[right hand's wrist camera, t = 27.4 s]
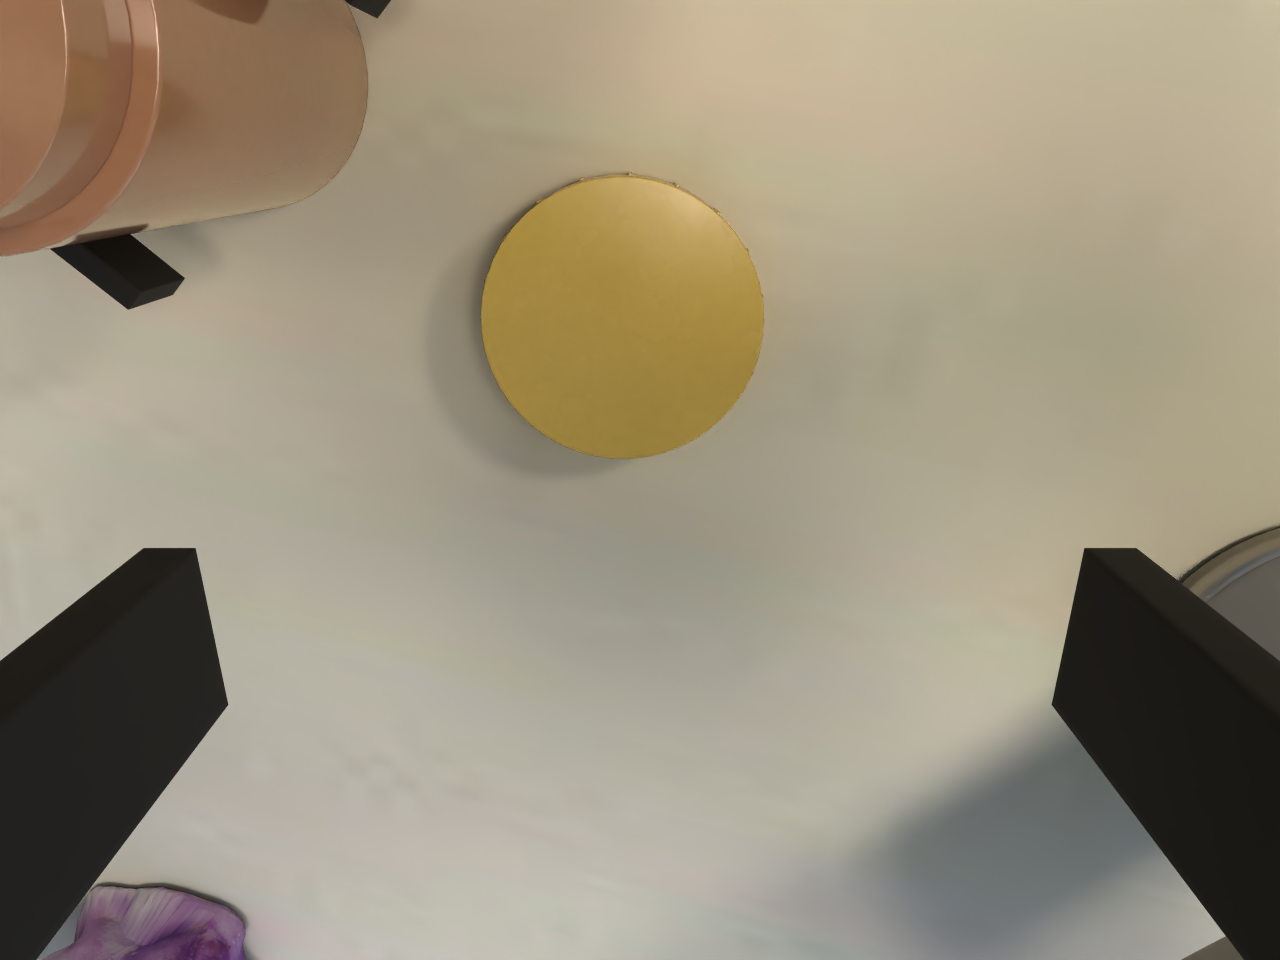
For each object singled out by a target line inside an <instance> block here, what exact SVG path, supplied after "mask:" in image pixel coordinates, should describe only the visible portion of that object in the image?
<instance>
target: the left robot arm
mask: <svg viewBox="0 0 1280 960" xmlns="http://www.w3.org/2000/svg"><path fill="white" fill-rule="evenodd" d="M345 1H346V2H348V3H349V4H350V5H352V6H354V7H356V8H358V9H360V10H362V11H364V12H366V13H368V14H370V15H372V16H374V17H376V18H378V17H379V15H380V14H381V13H382V11H383V10H384V9H385V7H386V6H387V5H388V3H389V2H390V1H391V0H345ZM50 249H51V250H52V251H54V252H55V253H56V254H57V255H59V256H60V257H61V258H63V259H64V260H65V261H66V262H68V263H69V264H70V265H72V266H73V267H74V268H75V269H77V270H78V271H79V272H81V273H82V274H83V275H84V276H86V277H87V278H88V279H89V280H91V281H92V282H93V283H95V284H96V285H97V286H98V287H100V288H101V289H102V290H104V291H105V292H106V293H107V294H109V295H110V296H111V297H113V298H114V299H115V300H116V301H118V302H119V303H120V304H122V305H123V306H124V307H125V308H127V309H128V310H129V309H132V308H135V307H138V306H141V305H144V304H147V303H150V302H153V301H156V300H159V299H162V298H165V297H168V296H171V295H173V294H174V292H175V291H176V290H177V288H178V287H179V286H180V284H181V283H182V282H183V280H184V279H185V278H184V277H183V276H181V275H180V274H179V273H178V272H176V271H175V270H174V269H173V268H171V267H170V266H169V265H168V264H166V263H165V262H164V261H163V260H162V259H160V258H159V257H158V256H157V255H155V254H154V253H153V252H152V251H150V250H149V249H148V248H147V247H145V246H144V245H143V244H142V243H140V242H139V241H138V240H137V239H135V238H134V237H133V236H132V235H130V234H127V235H122V236H116V237H111V238H105V239H100V240H94V241H88V242H83V243H77V244H72V245H66V246H61V247H55V248H50Z"/></svg>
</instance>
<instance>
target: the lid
mask: <svg viewBox="0 0 1280 960" xmlns="http://www.w3.org/2000/svg"><path fill="white" fill-rule="evenodd" d="M536 203H537V205H536V206H535V207H533V208H532V209H531V210H530V211H528V212H527V213H526V214H525V215H524V216H523V217H522V218H521V219H520V220H519V221H518V222H517V223H516V224H515V225H514V226H513V228H512V229H511V231H510V232H509V233H508V234H506V235H505V236H504V237H503V239H504V240H503V242H502V243H501V245H500V247H499V249H498V251H497V253H496V254H495V256H494V258H493V261H492V263H491V266H490V269H489V271H488V274H487V277H486V279H485V281H484V282H485V286H484V290H483V295H482V305H481V331H482V338H483V343H484V349H485V353H486V356H487V359H488V362H489V365H490V368H491V371H492V373H493V375H494V377H495V379H496V381H497V384H498V385H499V387H500V388H501V390H502V392H503V393H504V395H505V396H506V398H507V400H508V401H509V402H510V403H511V405H512V406H513V407H514V408H515V409H516V411H517V412H518V413H519V414H520V415H521V416H522V417H523V418H524V419H525V420H526V421H527V422H528V423H529V424H530V425H532V426H533V427H534V428H536V429H537V430H538V431H540V432H541V433H542V434H544V435H545V436H547V437H548V438H550V439H552V440H554V441H556V442H557V443H559V444H561V445H563V446H566V447H568V448H571V449H573V450H575V451H578V452H582V453H585V454H589V455H593V456H598V457H605V458H618V459H631V458H641V457H648V456H652V455H657V454H661V453H665V452H667V451H670V450H673V449H676V448H678V447H681V446H683V445H685V444H687V443H689V442H690V441H692V440H694V439H696V438H697V437H699V436H700V435H702V434H703V433H705V432H706V431H708V430H709V429H710V428H712V427H713V426H714V425H715V424H716V423H717V422H718V421H720V420H721V419H722V418H723V417H724V416H725V415H726V413H727V412H728V411H729V410H730V409H731V408H732V407H733V405H734V404H735V403H736V401H737V400H738V398H739V397H740V395H741V394H742V393H743V391H744V390H745V388H746V386H747V384H748V382H749V380H750V378H751V376H752V374H753V371H754V368H755V365H756V362H757V360H758V357H759V352H760V348H761V343H762V338H763V325H764V313H763V299H762V298H763V295H762V294H761V289H760V283H759V280H758V277H757V274H756V271H755V268H754V265H753V263H752V261H751V259H750V257H749V255H748V253H749V251H748V250H747V249H746V248H745V247H744V245H743V244H742V242H741V241H740V239H739V238H738V236H737V235H736V233H735V232H734V231H733V230H732V229H731V227H730V226H729V225H728V224H727V223H726V222H725V221H724V219H723V218H722V217H721V216H719V214H720V212H719V211H717V210H716V209H715V208H713V209H711V208H710V207H709V206H708V205H707V204H705V203H704V202H703V201H702V200H700V199H698V198H697V197H695V196H694V195H692V194H691V193H689V192H688V191H686V190H684V189H682V188H680V187H679V185H678V184H677V183H674V185H673V184H671V183H668V182H665V181H662V180H659V179H656V178H652V177H646V176H640V175H632V172H629V174H613V175H604V176H597V177H593V178H589V179H585V177H583V178H581V179H580V181H579V182H576V183H574V184H571V185H569V186H566V187H564V188H562V189H560V190H559V191H557V192H555V193H554V194H552V195H550V196H548V197H547V198H545V199H543V198H542V199H540V200H538V201H537V202H536Z"/></svg>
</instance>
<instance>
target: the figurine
mask: <svg viewBox="0 0 1280 960" xmlns="http://www.w3.org/2000/svg"><path fill="white" fill-rule="evenodd" d="M244 937H245V927H244V924H243V921H242V920H241V919H240V918H239V917H238V916H237V915H236V914H235V913H234V912H233V910H232V909H230V908H228V907H227V906H225V905H222V904H218V903H214V902H211V901H208V900H205V899H203V898H200V897H197V896H194V895H191V894H188V893H185V892H181V891H177V890H172V889H166V888H164V887H158V888H139V889H130V888H127V889H125V888H122V887H115V886H109V887H102V886H99V887H96V888H95V889H93V890H92V891H91V892H90V893H89V894H88V896H87V898H86V902H85V904H84V907H83V910H82V911H81V913H80V917H79V918H78V923H77V928H76V934H75V940H74V943H73V944H72V945H70V946H68V947H66V948H64V949H62V950H59V951H57V952H55V953H53V954H51V955H49V956H48V957H46V958H45V959H43V960H246V959H245V955H244V952H243V947H242V944H243V940H244Z"/></svg>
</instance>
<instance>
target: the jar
mask: <svg viewBox="0 0 1280 960" xmlns="http://www.w3.org/2000/svg"><path fill="white" fill-rule="evenodd" d="M367 95H368V82H367V67H366V60H365V54H364V50H363V46H362V42H361V38H360V34H359V32H358V29H357V26H356V24H355V21H354V19H353V16H352V14H351V12H350V10H349V8H348V6H347V4H346V2H345V0H0V256H11V255H17V254H22V253H28V252H33V251H39V250H44V249H50V248H55V247H61V246H66V245H72V244H77V243H83V242H88V241H94V240H100V239H105V238H111V237H116V236H122V235H127V234H133V233H138V232H144V231H149V230H155V229H160V228H166V227H171V226H177V225H183V224H188V223H194V222H199V221H205V220H210V219H216V218H221V217H227V216H232V215H238V214H243V213H249V212H254V211H260V210H266V209H271V208H276V207H282V206H286V205H289V204H292V203H294V202H297V201H300V200H302V199H304V198H306V197H308V196H310V195H311V194H313V193H315V192H316V191H317V190H319V189H320V188H322V187H323V186H324V185H326V184H327V183H328V182H329V181H330V180H331V179H332V178H333V177H334V176H335V175H336V174H337V173H338V172H339V170H340V169H341V168H342V166H343V165H344V164H345V162H346V161H347V160H348V158H349V156H350V154H351V152H352V151H353V149H354V147H355V145H356V143H357V140H358V137H359V135H360V132H361V129H362V126H363V121H364V117H365V112H366V105H367Z"/></svg>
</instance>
